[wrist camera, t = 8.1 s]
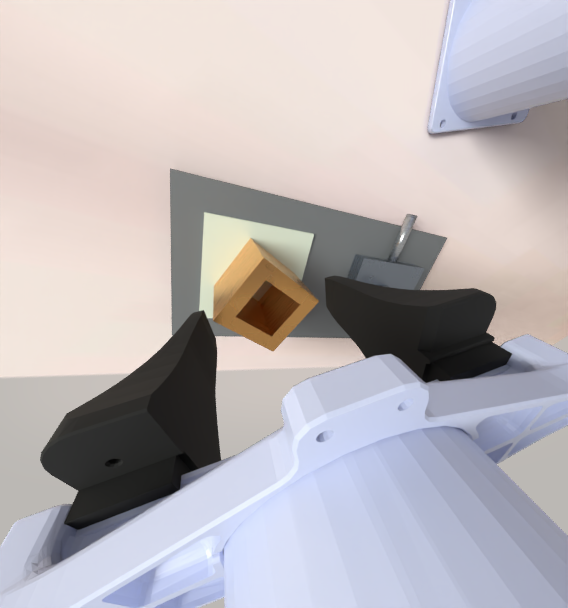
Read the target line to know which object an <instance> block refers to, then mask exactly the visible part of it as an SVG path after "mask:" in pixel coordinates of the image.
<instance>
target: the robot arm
mask: <svg viewBox="0 0 568 608" xmlns="http://www.w3.org/2000/svg"><path fill="white" fill-rule="evenodd" d="M565 99H568V0H450V4H449V10H448V15H447V21H446V27H445V32H444V38H443V44H442V49H441V55H440V61H439V66H438V72H437V78H436V83H435V89H434V95H433V100H432V106H431V112H430V117H429V123H428V132H429V133H430V134H435V133H443V132H451V131H459V130H468V129H476V128H484V127H492V126H500V125H508V124H516V123H520V122H522V121H523V120H524V119H525V118H526V116H527V114H528V112H529V109H530V108H533V107H537V106H541V105H545V104H549V103H553V102H557V101H561V100H565ZM440 123H441V127H440ZM325 292H326V307H327V308H328V310H329V312H330V313H331V315H332V316H333V318H334V319H335V320H336V322H337V323H338V324H339V325H340V326H341V327H342V329H343V330H344V331H345V332H346V333H347V334H348V335H349V336H350V338H351V339H352V340H353V341H354V342H355V343H356V345H357V346H358V347H359V348H360V350H361V351H362V353H363V354H364V356H365V357H366V359H363V360H360V361H357V362H354V363H352V364H349V365H346V366H343V367H340V368H337V369H334V370H331V371H328V372H325V373H322V374H319V375H316V376H313V377H310V378H307V379H306V380H304V381H302V382H300V383H298V384H296V385H295V386H293V388H292V389H291V390H290V391H289V392H288V393H287V395H286V396H285V397H284V398H283V401H282V407H281V413H282V416H283V420H284V426H283V427H282V428H280V429H278V430H277V431H275V432H273V433H271V434H270V435H268V436H267V437H265V438H264V439H262V440H260V441H258V442H257V443H255V444H253V445H252V446H250V447H248V448H247V449H245V450H244V451H242V452H241V453H239V454H237V455H234V456H232V457H229V458H226V459H224V460H221V457H220V448H219V438H218V426H217V414H216V401H215V400H216V399H215V384H216V367H217V346H216V338H215V335H214V333H213V331H212V328H211V326H210V324H209V321H208V319H207V316H206V314H205V312H204V310H202V311H198V312H194V313H192V314H191V315H190V316H189V317H188V318H187V320H186V321H185V322H184V323H183V325H182V326H181V327H180V328H179V329H178V331H177V332H176V333H175V334H174V335H173V336H172V337H171V338H170V340H169V341H168V342H167V343H166V344H165V345H164V346H163V347H162V348H161V349H160V350H159V351H158V352H157V353H156V354H155V355H153V356H152V357H151V358H150V359H149V360H148V361H147V362H145V363H144V364H143V365H142V366H140V367H139V368H138V369H136V370H135V371H134V372H133V373H131V374H130V375H129V376H127V377H126V378H124V379H123V380H122V381H120V382H119V383H117V384H116V385H114V386H113V387H111V388H110V389H108V390H106V391H105V392H103V393H102V394H100V395H98V396H97V397H95V398H93V399H92V400H90V401H88V402H86V403H85V404H83V405H81V406H79V407H78V408H76V409H74V410H72V411H71V412H69V413H67V414H66V416H65V417H64V419H63V420H62V422H61V423H60V425H59V427H58V428H57V429H56V431H55V433H54V434H53V436H52V438H51V439H50V440H49V442H48V443H47V445H46V446H45V448H44V449H43V451H42V452H41V459H40V461H41V463H42V465H43V467H44V469H45V470H46V471H47V472H49V473H50V474H51V475H52V476H54V477H56V478H58V479H59V480H61V481H63V482H64V483H66V484H68V485H69V486H71V487H73V488H75V489H76V490H78V494H77V496H76V498H75V500H74V502H73V504H62V505H58V506H54V507H52V508H49V509H46V510H43V511H41V512H38V513H35V514H33V515H30V516H27V517H24V518H22V519H19V520H18V521H16V522H15V523H14V525H13V526H12V528H11V530H10V531H9V533H8V535H7V536H6V538H5V540H4V541H3V543H2V545H1V546H0V608H199V607H201V606H204V605H207V604H209V603H212V602H214V601H217V600H219V599H222V598H224V601H225V608H568V536H567V535H566V534H565V533H564V532H563V531H562V530H561V529H560V528H559V527H558V526H557V525H556V524H555V523H554V522H553V521H552V520H551V519H550V518H549V517H548V516H547V515H546V513H545V512H544V511H542V510H541V508H540V507H539V506H538V505H536V503H534V501H532V500H531V498H530V497H528V496H527V494H526V493H525V492H524V491H523V490H522V489H521V488H519V486H518V485H516V483H515V482H514V481H513V480H511V478H510V477H509V476H508V475H507V474H506V473H505V472H504V471H503V470H502V469H501V468H499V466H497V464H498V463H500V462H502V461H504V460H505V459H507V458H509V457H511V456H512V455H514V454H516V453H517V452H519V451H521V450H522V449H524V448H526V447H528V446H530V445H531V444H533V443H535V442H537V441H539V440H540V439H542V438H544V437H546V436H548V435H550V434H552V433H554V432H556V431H558V430H560V429H562V428H564V427H566V426H568V353H566V352H564V351H562V350H560V349H558V348H555V347H554V346H552V345H549V344H547V343H545V342H543V341H541V340H539V339H537V338H535V337H533V336H531V335H529V334H527V335H522V336H520V337H517V338H514V339H512V340H509V341H507V342H505V343H503V344H502V345H501V346H498V345H496V344H494V343H493V342H492V341H494V337H493V336H491V335H490V334H488V333H486V331H487V329H488V327H489V325H490V322H491V320H492V318H493V316H494V313H495V310H496V301H495V299H494V297H493V296H492V295H490V294H488V293H486V292H483V291H481V290H478V289H474V288H471V289H456V290H409V289H398V288H390V287H383V286H378V285H373V284H369V283H364V282H360V281H356V280H353V279H349V278H345V277H341V276H330V277H326V278H325Z"/></svg>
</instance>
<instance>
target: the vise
mask: <svg viewBox="0 0 568 608" xmlns="http://www.w3.org/2000/svg"><path fill="white" fill-rule="evenodd" d="M416 218H417V216H416V215H411V214H407V215H406V218H405V220H404V222H403V225H402V227H401V229H400V232H399V234H398V236H397V239H396V241H395V243H394V246H393V248H392V250H391V252H390V255H389V257H388V259H387V260H386V259H381V258H375V257H369V256H364V255H358V254H355V257H354V259H353V262H352V265H351V268H350V271H349V273H348V276H347V278H349V279H353V280H356V281H360V282H364V283H369V284H373V285H378V286H383V287H390V288H398V289H409V290H414V288H415V286H416V285H417V283H418V281H419V279H420V277H421V275H422V273H423V271H424V268H422V267H419V266H417V265H414V264H409V263H404V262H398V261H397V260H398V258H399V256H400V254H401V251H402V249H403V247H404V245H405V243H406V240H407V238H408V236H409V234H410V232H411V229H412V227H413V225H414V223H415V220H416Z"/></svg>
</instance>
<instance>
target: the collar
mask: <svg viewBox="0 0 568 608" xmlns="http://www.w3.org/2000/svg"><path fill="white" fill-rule="evenodd" d="M266 280H267V281H268V282H269V283H271V284H272V286H271V287H270V288H269V289H268V291H267V292H266V293H265V294H264V295H263V297H262V298H261V299H260V300H259V301H257V300H256V299H254V298H253V297H252V296H253V295H254V294H255V293H256V292H257V290H258V289H259V288H260V287H261V285H262V284H263V283H264V282H265V281H266ZM318 302H319V300H318V299H317V298H316V297H315V296H314V295H313V293H312V292H311V291H310V290H309V289H308V288H307V287H306V286H305V285H304V283H303V282H302V281H301V280H300V279H299V278H298V277H297V276H296V274H295V273H293V272H292V271H291V270H290V269H288V268H287V267H286V266H285V265H283V264H282V263H281V262H280V261H279V260H277V259H276V258H275V257H274V256H272V255H271V254H270V253H269V252H267V251H266V250H265V249H264V248H263V247H261V246H260V245H259V244H258V243H256V242H255V241H254V240H253V239H251V238H250V239H249V241H248V242H247V243H246V245H245V246H244V247H243V248H242V250H241V251H240V252H239V254H238V255H237V256H236V258H235V259H234V260H233V262H232V263H231V264H230V265H229V267H228V268H227V269H226V271H225V272H224V273H223V275H222V276H221V277H220V278H219V280H218V281H217V282H216V284H215V285H214V298H213V321H214V322H216V323H218V324H220V325H222V326H224V327H226V328H228V329H230V330H232V331H234V332H236V333H238V334H240V335H242V336H244V337H246V338H247V339H249V340H251V341H253V342H255V343H257V344H259V345H261V346H263V347H265V348H267V349H269V350H271V351H274V350H275V349H276V348H277V347H278V346H279V345H280V343H281V342H282V341H283V340H284V339H285V338H286V337H287V336H288V335H289V334H290V333H291V332H292V330H293V329H294V328H295V327H296V326H297V325H298V324H299V323H300V322H301V321H302V320H303V318H304V317H305V316H306V315H307V314H308V313H309V312H310V311H311V310H312V309H313V308H314V306H315V305H316V304H317V303H318Z"/></svg>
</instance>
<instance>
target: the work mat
mask: <svg viewBox="0 0 568 608" xmlns="http://www.w3.org/2000/svg"><path fill="white" fill-rule="evenodd" d="M170 206H171V289H172V335H174V334H175V333H176V332H177V331H178V329H179V328H180V327H181V326H182V325H183V323H184V322H185V321H186V320H187V318H188V317H189V316H190V315H191V314H192V313H194V312H198V311H202V310H204V312H205V314H206V316H207V319H208V321H209V324H210V326H211V328H212V331H213V333H214V335H215V336H242V335H240V334H238V333H236V332H234V331H232V330H230V329H228V328H226V327H224V326H222V325H220V324H218V323H216V322H214V321H213V298H214V285H215V284H216V282H217V281H218V280H219V278H220V277H221V276H222V275H223V273H224V272H225V271H226V269H227V268H228V267H229V265H230V264H231V263H232V262H233V260H234V259H235V258H236V256H237V255H238V254H239V252H240V251H241V250H242V248H243V247H244V246H245V245H246V243H247V242H248V241H249V239H250V238H251V239H253V240H254V241H255V242H256V243H258V244H259V245H260V246H261V247H263V248H264V249H265V250H266V251H267V252H269V253H270V254H271V255H272V256H274V257H275V258H276V259H277V260H279V261H280V262H281V263H282V264H283V265H285V266H286V267H287V268H288V269H290V270H291V271H292V272H293V273H295V274H296V276H297V277H298V278H299V279H300V280H301V281H302V282H303V283H304V285H305V286H306V287H307V288H308V289H309V290H310V291H311V292H312V293H313V295H314V296H315V297H316V298H317V299H318V300H319V302H318V303H317V304H316V305H315V306H314V308H313V309H312V310H311V311H310V312H309V313H308V314H307V315H306V316H305V317H304V318H303V320H302V321H301V322H300V323H299V324H298V325H297V326H296V327H295V328H294V329H293V330H292V332H291V333H290V334H289V335H288V336H287V337H320V338H350V336H349V335H348V334H347V333H346V332H345V331H344V330H343V329H342V327H341V326H340V325H339V324H338V323H337V322H336V320H335V319H334V318H333V316H332V315H331V313H330V312H329V310H328V308H327V307H326V292H325V278H326V277H330V276H341V277H345V278H347V276H348V273H349V271H350V268H351V265H352V262H353V259H354V257H355V254H358V255H364V256H369V257H375V258H381V259H386V260H387V259H388V257H389V255H390V252H391V250H392V248H393V246H394V243H395V241H396V239H397V236H398V234H399V232H400V229H401V227H402V226H398V225H394V224H390V223H386V222H382V221H378V220H374V219H370V218H366V217H362V216H358V215H354V214H350V213H346V212H342V211H338V210H334V209H330V208H326V207H322V206H318V205H314V204H310V203H306V202H302V201H298V200H294V199H290V198H286V197H282V196H278V195H274V194H270V193H266V192H262V191H258V190H254V189H250V188H246V187H242V186H238V185H234V184H230V183H226V182H222V181H218V180H214V179H210V178H206V177H202V176H198V175H194V174H190V173H186V172H182V171H178V170H174V169H170ZM446 239H447V238H446V237H442V236H438V235H434V234H430V233H426V232H422V231H418V230H414V229H411V232H410V234H409V236H408V238H407V240H406V243H405V245H404V247H403V249H402V251H401V254H400V256H399V258H398V260H397V261H398V262H404V263H409V264H414V265H417V266H419V267H422V268H424V271H423V273H422V275H421V277H420V279H419V281H418V283H417V285H416V286H415V288H414V290H420V288H421V287H422V285H423V283H424V281H425V279H426V277H427V275H428V273H429V272H430V270H431V268H432V266H433V264H434V262H435V260H436V258H437V256H438V255H439V253H440V251H441V249H442V247H443V245H444V243H445V241H446ZM271 286H272V284H271V283H269V282H268V281H267V280H266V281H265V282H264V283H263V284H262V285H261V287H260V288H259V289H258V290H257V292H256V293H255V294H254V295H253V296H252V297H253V298H254V299H256V300H257V301H259V300H260V299H261V298H262V297H263V295H264V294H265V293H266V292H267V291H268V289H269V288H270V287H271Z"/></svg>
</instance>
